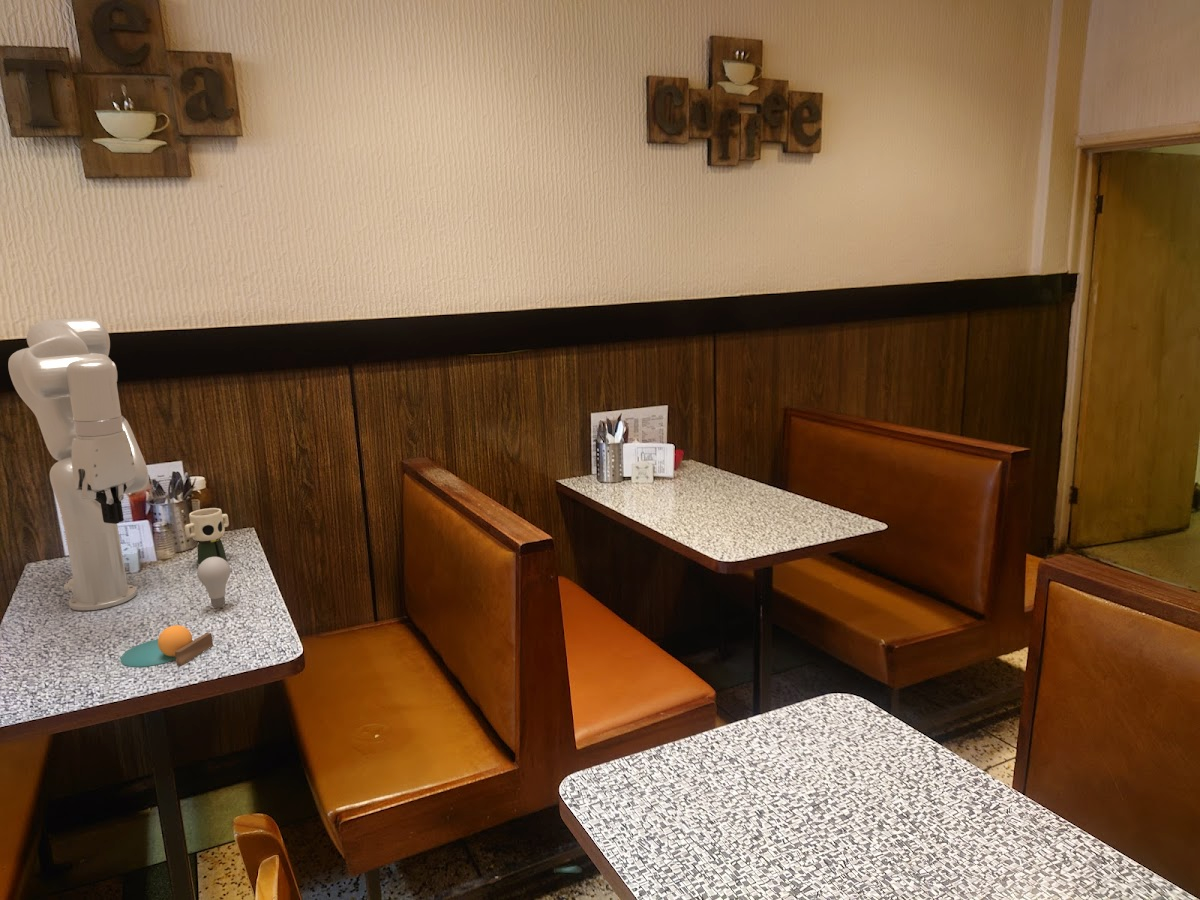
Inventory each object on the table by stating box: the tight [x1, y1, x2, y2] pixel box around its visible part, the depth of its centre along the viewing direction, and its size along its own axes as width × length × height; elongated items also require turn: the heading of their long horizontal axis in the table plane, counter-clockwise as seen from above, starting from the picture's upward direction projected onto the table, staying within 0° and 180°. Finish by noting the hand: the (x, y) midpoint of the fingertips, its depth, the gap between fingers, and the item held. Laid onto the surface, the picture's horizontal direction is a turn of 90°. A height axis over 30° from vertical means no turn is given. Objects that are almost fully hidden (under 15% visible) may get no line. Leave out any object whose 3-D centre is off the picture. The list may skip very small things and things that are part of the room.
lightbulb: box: [196, 557, 231, 610], centre depth 170 cm, size 6×6×11 cm
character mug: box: [184, 507, 230, 565], centre depth 198 cm, size 11×7×13 cm, turn 147°
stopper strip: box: [175, 632, 214, 666], centre depth 149 cm, size 1×8×2 cm, turn 166°
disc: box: [120, 638, 194, 668], centre depth 151 cm, size 12×12×1 cm
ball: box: [157, 624, 193, 657], centre depth 149 cm, size 6×6×6 cm
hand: (113, 521), depth 157 cm, fingers closed
